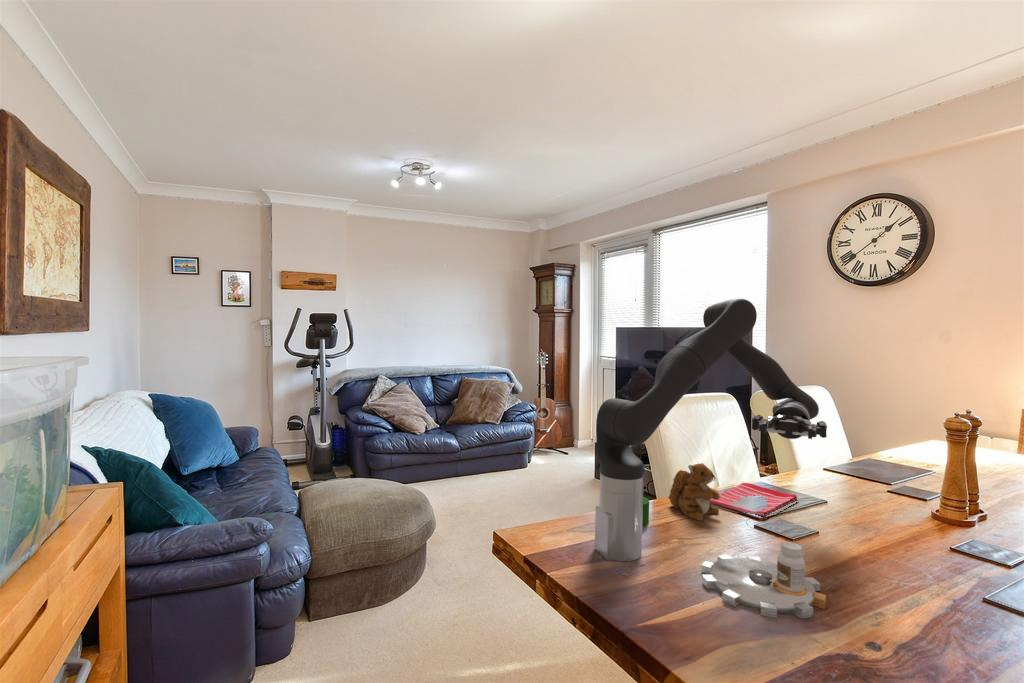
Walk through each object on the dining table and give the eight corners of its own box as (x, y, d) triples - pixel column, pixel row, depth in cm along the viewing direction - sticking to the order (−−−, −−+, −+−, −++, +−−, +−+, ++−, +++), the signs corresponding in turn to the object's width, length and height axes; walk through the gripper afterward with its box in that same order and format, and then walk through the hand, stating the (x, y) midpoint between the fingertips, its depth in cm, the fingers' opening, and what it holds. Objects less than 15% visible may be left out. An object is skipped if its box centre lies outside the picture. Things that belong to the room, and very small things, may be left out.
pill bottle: (771, 581, 96) (773, 540, 96) (793, 580, 97) (795, 540, 97) (786, 593, 92) (787, 550, 92) (809, 592, 92) (810, 550, 92)
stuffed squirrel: (701, 522, 129) (703, 471, 129) (657, 505, 141) (659, 458, 141) (725, 515, 135) (727, 466, 134) (681, 499, 147) (682, 454, 146)
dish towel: (800, 503, 147) (800, 494, 147) (764, 523, 131) (764, 513, 131) (740, 488, 160) (740, 480, 159) (702, 505, 144) (702, 495, 144)
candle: (649, 517, 133) (650, 479, 132) (647, 529, 125) (648, 488, 124) (617, 512, 135) (618, 475, 135) (613, 524, 127) (614, 484, 127)
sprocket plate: (755, 626, 84) (756, 611, 84) (679, 567, 105) (679, 555, 105) (854, 609, 90) (854, 595, 90) (763, 556, 111) (763, 545, 110)
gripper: (758, 401, 124) (749, 409, 110) (827, 406, 116) (827, 417, 102) (757, 431, 124) (748, 444, 110) (826, 439, 116) (826, 454, 103)
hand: (786, 431), depth 106 cm, fingers open, 8 cm apart
